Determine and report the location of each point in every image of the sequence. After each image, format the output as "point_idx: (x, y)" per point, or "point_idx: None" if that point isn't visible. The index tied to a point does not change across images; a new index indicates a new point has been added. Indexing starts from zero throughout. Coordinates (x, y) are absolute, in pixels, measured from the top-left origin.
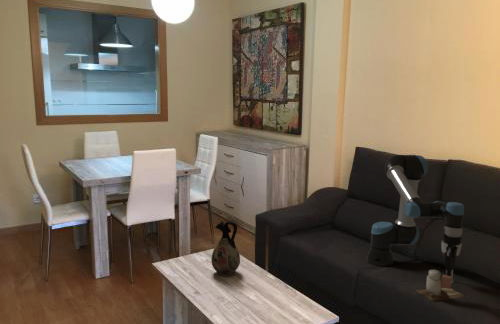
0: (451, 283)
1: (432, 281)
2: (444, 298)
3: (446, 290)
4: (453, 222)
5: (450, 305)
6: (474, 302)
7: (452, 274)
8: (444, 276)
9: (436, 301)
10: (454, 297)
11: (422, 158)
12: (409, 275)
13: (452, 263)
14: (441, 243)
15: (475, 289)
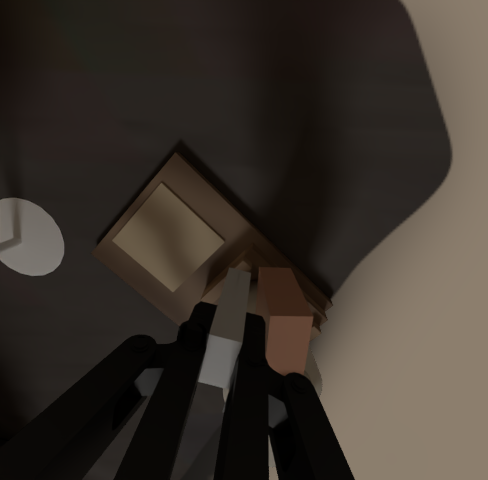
0: (246, 272)
1: (319, 391)
2: (272, 261)
3: (161, 251)
4: None
5: (312, 230)
6: (208, 106)
7: (230, 310)
8: (291, 361)
9: (322, 294)
10: (227, 214)
11: None
12: (70, 384)
13: (247, 441)
14: None
15: (11, 93)
